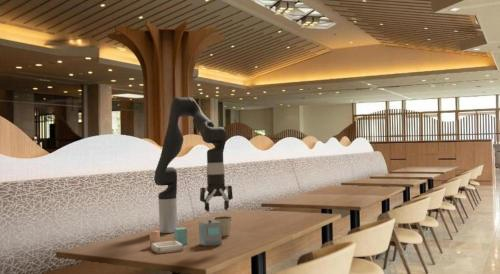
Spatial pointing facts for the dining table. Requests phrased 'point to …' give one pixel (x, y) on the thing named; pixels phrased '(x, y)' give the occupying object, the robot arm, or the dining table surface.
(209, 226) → the box
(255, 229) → the dining table surface
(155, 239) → the peach capsule
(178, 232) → the teal block
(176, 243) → the tray
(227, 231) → the flower pot
